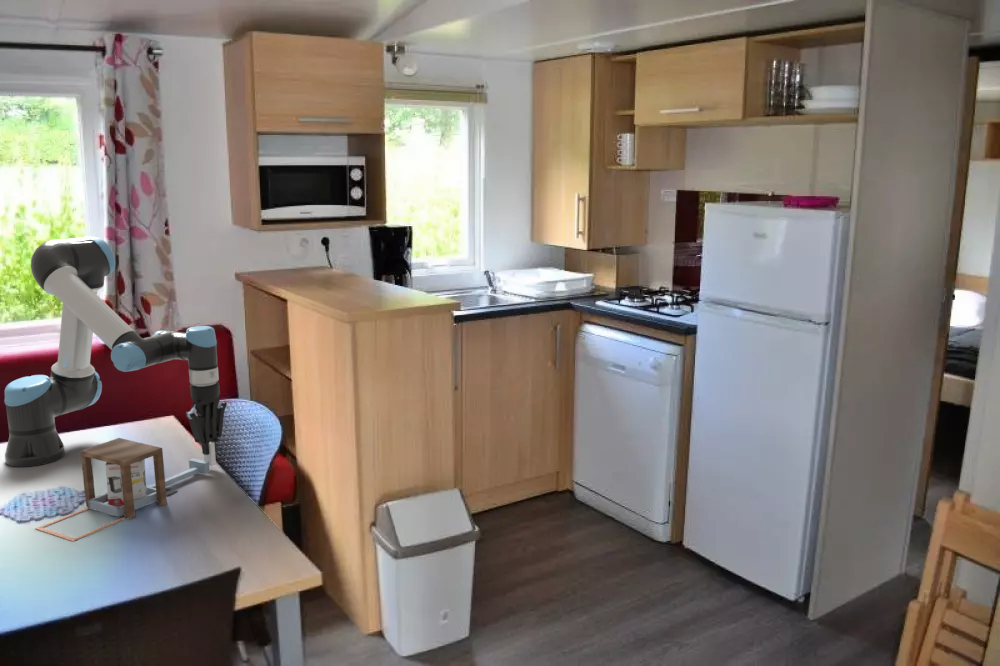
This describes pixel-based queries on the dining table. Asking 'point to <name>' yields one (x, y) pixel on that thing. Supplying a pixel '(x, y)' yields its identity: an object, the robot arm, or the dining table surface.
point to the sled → (148, 490)
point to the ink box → (116, 484)
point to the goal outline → (68, 536)
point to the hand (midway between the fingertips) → (210, 464)
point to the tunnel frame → (124, 468)
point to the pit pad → (170, 492)
